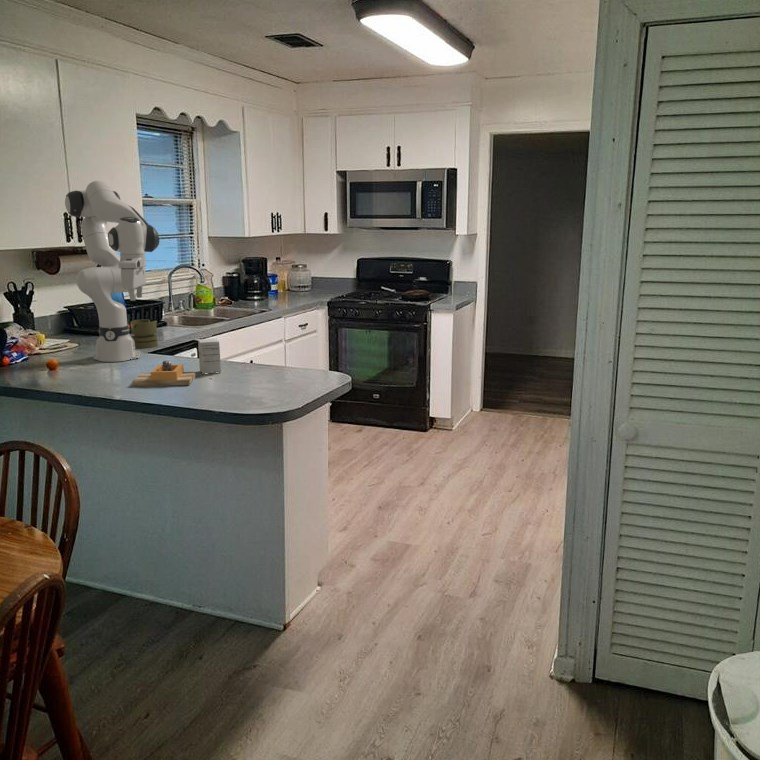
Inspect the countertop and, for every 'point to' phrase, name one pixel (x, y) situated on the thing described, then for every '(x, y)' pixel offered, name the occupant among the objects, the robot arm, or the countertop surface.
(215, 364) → the supplement box
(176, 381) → the wooden board
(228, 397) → the countertop surface
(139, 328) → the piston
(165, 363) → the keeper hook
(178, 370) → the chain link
